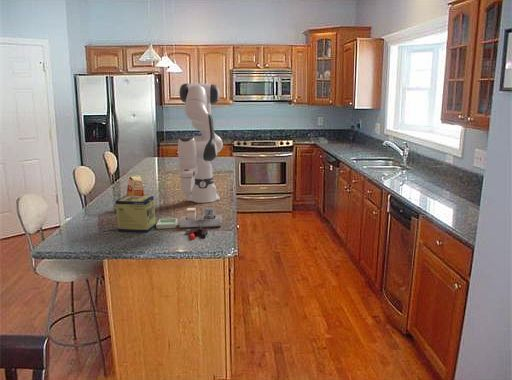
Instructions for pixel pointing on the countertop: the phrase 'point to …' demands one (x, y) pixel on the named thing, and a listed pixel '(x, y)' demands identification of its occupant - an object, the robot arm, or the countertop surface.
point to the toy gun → (196, 232)
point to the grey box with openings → (202, 220)
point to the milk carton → (135, 186)
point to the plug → (191, 213)
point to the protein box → (135, 213)
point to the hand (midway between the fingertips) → (189, 197)
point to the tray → (167, 223)
